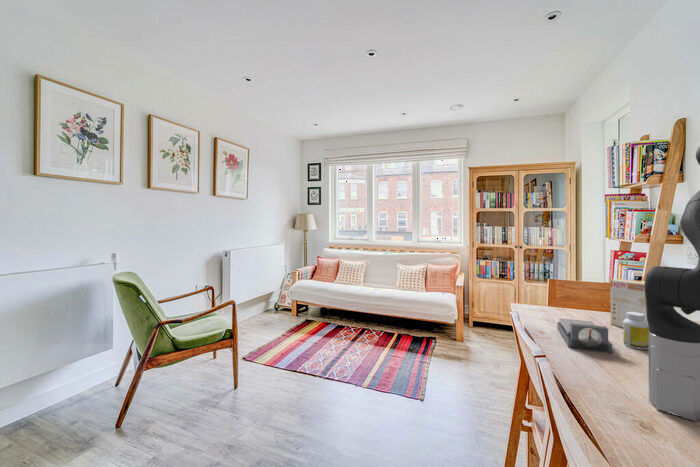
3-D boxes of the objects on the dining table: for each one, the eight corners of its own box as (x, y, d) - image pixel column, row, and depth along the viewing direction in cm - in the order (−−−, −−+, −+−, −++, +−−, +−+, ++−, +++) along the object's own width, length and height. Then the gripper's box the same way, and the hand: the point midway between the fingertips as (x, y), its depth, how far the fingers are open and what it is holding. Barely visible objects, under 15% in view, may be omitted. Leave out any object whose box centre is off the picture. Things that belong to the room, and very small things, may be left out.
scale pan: (606, 339, 102) (606, 335, 102) (568, 334, 107) (568, 331, 107) (592, 324, 117) (592, 321, 117) (559, 321, 122) (559, 318, 122)
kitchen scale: (612, 353, 99) (612, 330, 98) (568, 348, 104) (568, 325, 104) (593, 333, 117) (593, 313, 117) (557, 329, 122) (557, 310, 122)
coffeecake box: (666, 333, 115) (666, 283, 114) (656, 336, 112) (656, 285, 112) (619, 322, 129) (619, 277, 128) (609, 324, 126) (609, 279, 125)
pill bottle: (654, 350, 100) (654, 316, 100) (631, 349, 101) (631, 316, 101) (639, 343, 106) (639, 311, 106) (618, 342, 108) (618, 310, 108)
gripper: (727, 265, 92) (673, 295, 101) (730, 270, 83) (670, 303, 92) (756, 284, 88) (697, 314, 98) (762, 292, 79) (696, 324, 88)
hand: (684, 309), depth 95 cm, fingers open, 8 cm apart
